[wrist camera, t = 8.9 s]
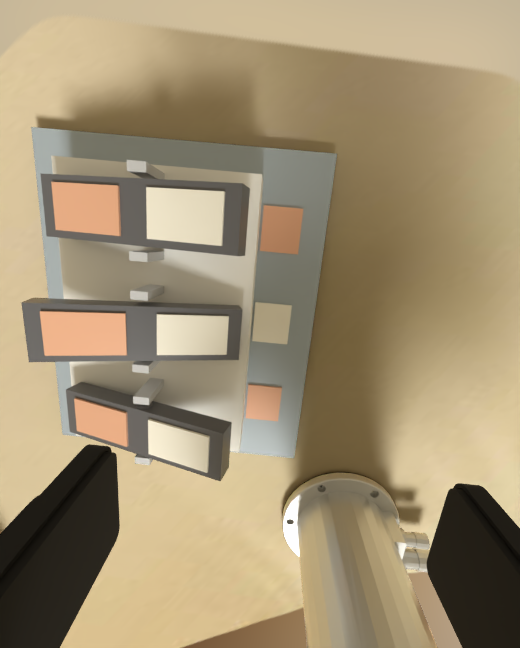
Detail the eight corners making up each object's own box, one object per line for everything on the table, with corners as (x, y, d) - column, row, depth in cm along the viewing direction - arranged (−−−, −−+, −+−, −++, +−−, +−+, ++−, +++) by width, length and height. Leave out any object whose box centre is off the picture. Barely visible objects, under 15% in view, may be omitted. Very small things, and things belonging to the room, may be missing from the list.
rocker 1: (249, 188, 18) (241, 182, 16) (245, 255, 19) (236, 256, 18) (60, 178, 21) (38, 172, 20) (65, 237, 22) (44, 236, 21)
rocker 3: (231, 422, 22) (222, 435, 20) (228, 467, 23) (219, 482, 21) (81, 381, 26) (63, 390, 24) (84, 422, 27) (68, 432, 25)
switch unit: (334, 157, 24) (360, 122, 17) (293, 451, 31) (299, 510, 24) (40, 131, 24) (-52, 87, 17) (68, 428, 32) (12, 480, 25)
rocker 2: (239, 305, 23) (242, 310, 22) (235, 352, 24) (239, 360, 23) (33, 297, 20) (20, 303, 18) (39, 353, 21) (27, 363, 19)
